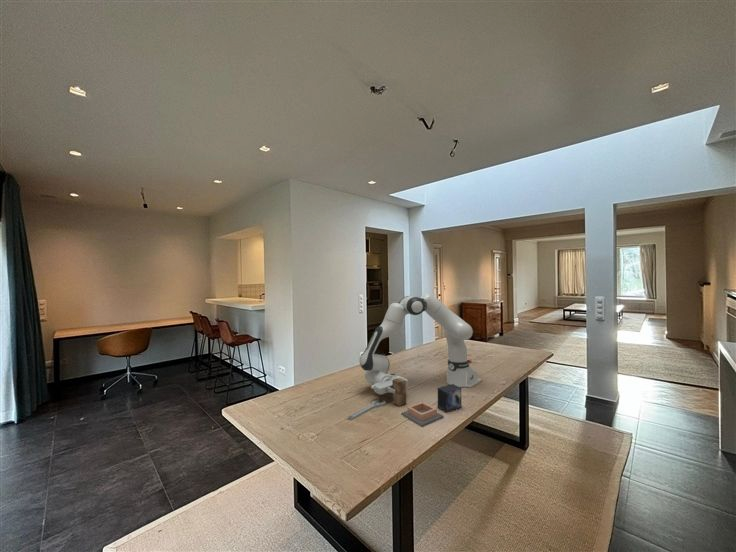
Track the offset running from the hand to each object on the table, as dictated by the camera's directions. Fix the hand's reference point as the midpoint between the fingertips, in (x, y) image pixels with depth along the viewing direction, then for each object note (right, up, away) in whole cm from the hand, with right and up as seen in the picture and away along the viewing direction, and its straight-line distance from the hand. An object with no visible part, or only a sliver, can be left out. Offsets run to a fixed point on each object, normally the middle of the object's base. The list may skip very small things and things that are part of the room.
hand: (400, 390), depth 152 cm
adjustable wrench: (-18, -9, -5) cm, 20 cm away
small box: (+24, -7, -6) cm, 26 cm away
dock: (+9, -7, -13) cm, 18 cm away
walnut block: (0, -7, +1) cm, 7 cm away
